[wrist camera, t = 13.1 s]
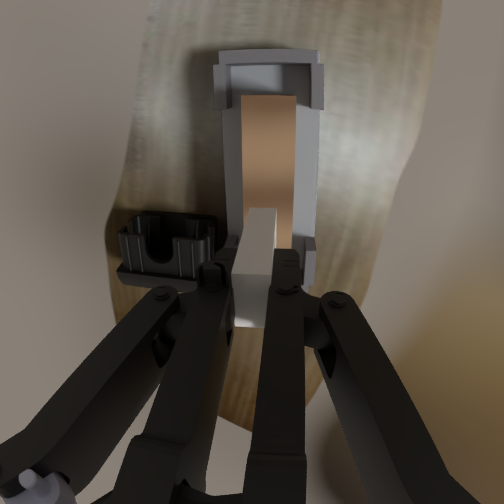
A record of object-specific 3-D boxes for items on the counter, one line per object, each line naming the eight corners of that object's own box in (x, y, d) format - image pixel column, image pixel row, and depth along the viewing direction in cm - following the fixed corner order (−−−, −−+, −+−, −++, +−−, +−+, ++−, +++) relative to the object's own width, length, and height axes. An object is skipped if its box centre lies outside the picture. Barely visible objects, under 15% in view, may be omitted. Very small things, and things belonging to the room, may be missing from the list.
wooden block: (249, 94, 26) (240, 95, 21) (293, 94, 26) (296, 95, 21) (251, 249, 34) (245, 280, 29) (289, 250, 34) (289, 282, 29)
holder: (221, 54, 26) (212, 49, 22) (318, 53, 25) (323, 48, 21) (232, 273, 37) (226, 293, 34) (310, 275, 36) (312, 296, 33)
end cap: (142, 263, 38) (120, 295, 32) (136, 209, 34) (108, 236, 29) (221, 271, 37) (209, 308, 31) (221, 215, 34) (208, 245, 28)
